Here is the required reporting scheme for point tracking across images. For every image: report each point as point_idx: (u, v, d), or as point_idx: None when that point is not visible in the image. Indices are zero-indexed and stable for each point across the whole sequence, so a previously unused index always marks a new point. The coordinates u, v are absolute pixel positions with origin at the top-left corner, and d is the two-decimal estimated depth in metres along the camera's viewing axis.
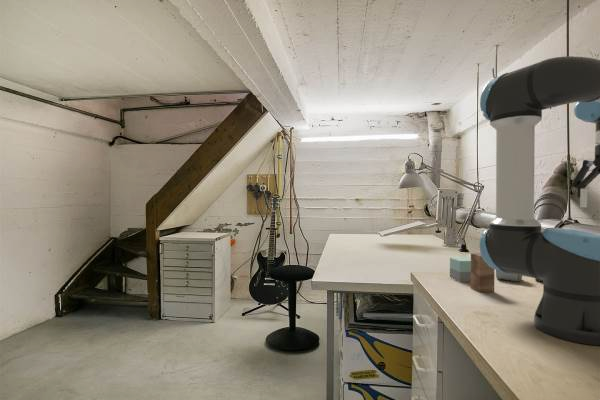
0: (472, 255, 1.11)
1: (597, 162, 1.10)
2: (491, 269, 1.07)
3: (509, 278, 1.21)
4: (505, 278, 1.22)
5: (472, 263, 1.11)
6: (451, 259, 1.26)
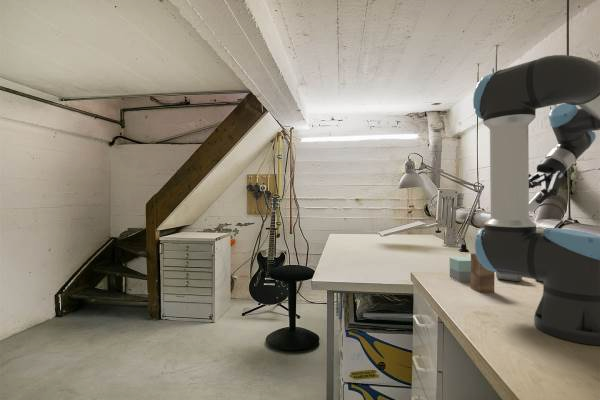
0: (472, 255, 1.11)
1: None
2: None
3: (509, 278, 1.21)
4: (505, 278, 1.22)
5: (472, 263, 1.11)
6: (450, 259, 1.26)
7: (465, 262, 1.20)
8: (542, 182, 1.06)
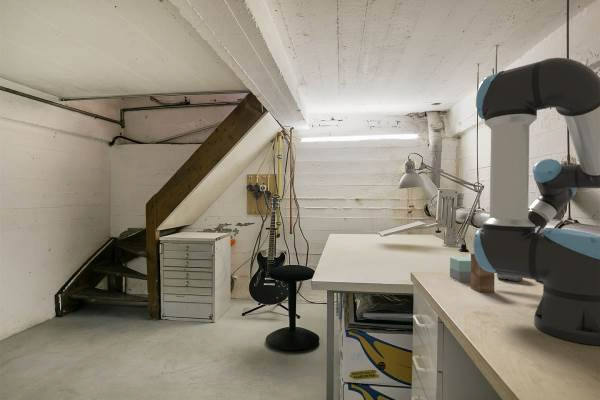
0: (472, 255, 1.11)
1: None
2: None
3: (510, 277, 1.22)
4: (506, 277, 1.23)
5: (472, 263, 1.11)
6: (451, 259, 1.26)
7: (465, 262, 1.20)
8: None
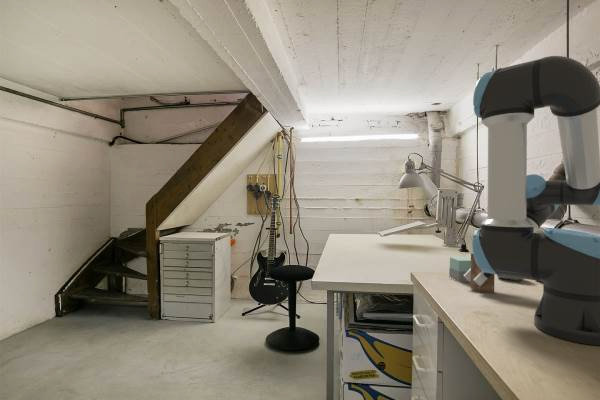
0: (472, 255, 1.11)
1: None
2: None
3: (510, 277, 1.22)
4: (506, 277, 1.23)
5: (472, 263, 1.11)
6: (451, 259, 1.26)
7: (465, 262, 1.21)
8: None
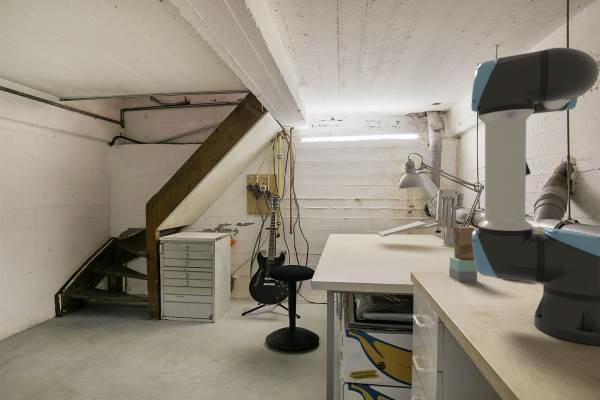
0: (455, 228, 1.26)
1: None
2: (471, 239, 1.22)
3: None
4: None
5: (455, 235, 1.26)
6: (451, 259, 1.26)
7: (465, 262, 1.21)
8: None
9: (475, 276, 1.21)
